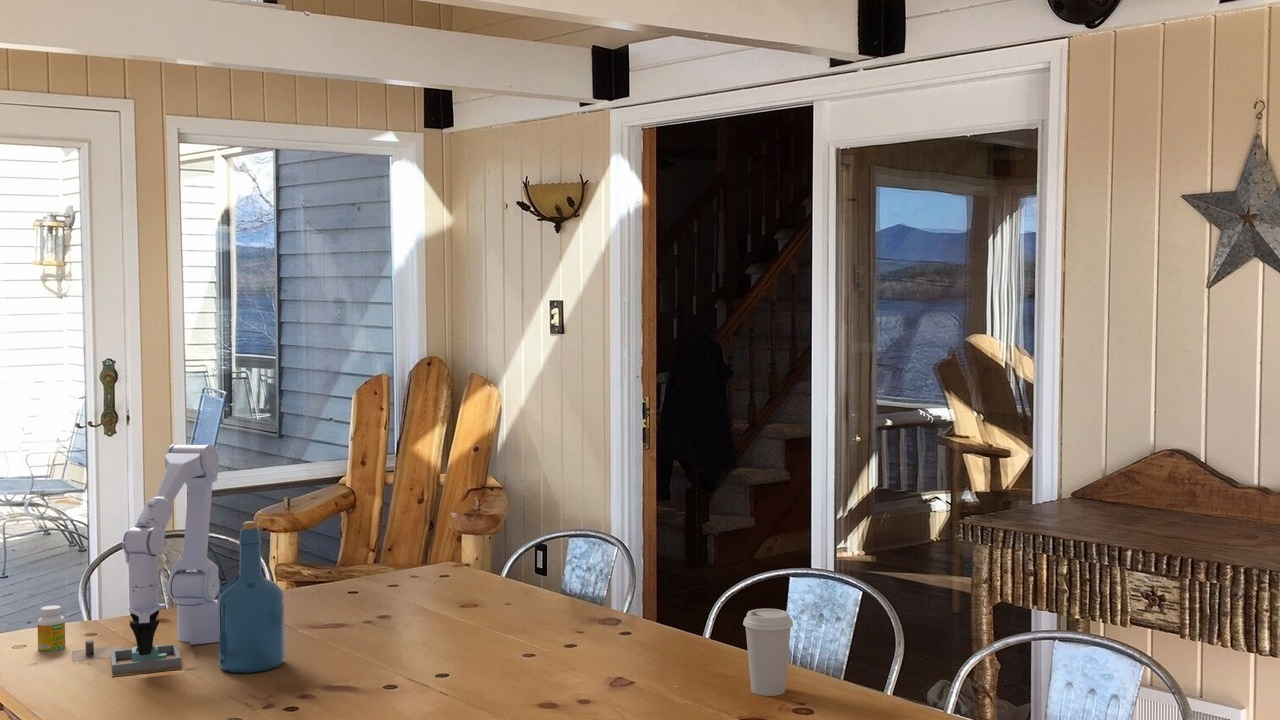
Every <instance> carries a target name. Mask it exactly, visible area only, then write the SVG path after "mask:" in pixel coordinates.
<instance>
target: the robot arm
mask: <svg viewBox="0 0 1280 720" xmlns="http://www.w3.org/2000/svg"><path fill="white" fill-rule="evenodd" d="M219 459H220V456H219V453H218V451H217V449H216V448H215V446H214V445H213V444H210V443H209V444H177V443H173V444H171V445H170V446H169V447H168V448H167V450H166V452H165V456H164V466H165V472H164V475H163V477H162V480H161V482H160V485H159V487H158V490H157V491H156V492H157V493H156V495H155V497H152V498H149V499H148V500H147V502H146V503H145V505H144V507H143V510H142V511H141V513H140V515H139V516H138V519H137V521H136V523H135V525H134V526H133V527H131V528H129V529H128V530H126V531H125V533H124V535H123V538H122V542H121V547H122V550H123V553H124V555H125V562H126V564H128V585H129V586H128V587H129V588H128V589H129V591H128V595H129V603H128V604H129V606H128V612H129V613H130V617H131V618H132V620H129V627H130V629H131V630H132V632H133V634H134V637H135V640H136V647H138V651H139V654H140V655H150V654H151V650H152V645H153V644H154V638H155V633H156V631H157V628H158V626H159V624H160V620H159V619H157V618H158V615H159V614H160V610H162V609H165V608H166V603H164V602H163V603H160V584H159V583H160V581H159V580H160V579H159V577H160V574H159V573H160V572H159V554H160V553H161V551H162V550H163V549H164V544H165V537H166V533H167V532H166V531H165V530H166V528H167V526H168V525H169V522H170V520H171V518H172V516H173V514H174V512H175V509H174V506H173V503H174V501H175V499H176V497H177V495H178V494H179V492H180V491H181V489H182V488H183V486H184V484H185V485H186V486H187V488H188V489H187V498H186V499H187V501H186V511H185V524H184V537H183V538H184V540H183V551H182V557H181V558H180V559H179V560H178V561H176V562H175V563H174V564H173V565H171V570H170V576H169V578H168V582H167V592H168V595H169V597H170V599H171V600H173V603H174V604H176V613H177V614H176V616H177V617H176V618H177V620H176V621H177V624H176V626H177V627H176V628H177V640H178V642H183V643H188V644H189V646H194V645H195V646H196V645H203V644H205V645H206V644H213V643H218V599H215V598H216V597H217V595H219V594H218V591H219V589H220V588H221V587H220V585H221V583H220V578H219V567H218V565H217V564H216V563H214V562H213V561H212V560H211V559H210V558H208V547H209V535H210V532H209V531H210V522H211V521H210V520H211V519H210V518H211V508H212V507H211V505H212V496H213V495H212V494H213V493H212V492H213V483H215V482H216V481H218V473H219V463H220V462H219V461H220V460H219ZM188 570H190V571H188ZM191 570H192V571H191ZM193 570H194V571H193ZM195 570H196V571H195Z"/></svg>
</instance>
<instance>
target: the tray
mask: <svg viewBox="0 0 1280 720" xmlns="http://www.w3.org/2000/svg"><path fill="white" fill-rule="evenodd" d="M163 653H166V655H171V654H173V657H166V658H165V659H156V660H147V661H138V662H132V661H130V662H122V663H117V660H123V659H132V648H126V649H123V650H115V651H111V657H110V664H111V665H110V666H111V674H112V675H114V674H125V673H130V672H131V673H132V674H125V675H115V676H111V678H122V677H130V676H139V675H148V674H155V673H163V672H164V673H165V672H173V671H181V670H182V668H179V667H182V657H181V653H180V650H179V647H178V644H177V643H172V644H164V645H158V654H163ZM177 667H178V668H177ZM168 668H177V669H168ZM157 669H166V670H159V671H150V672H142V671H149V670H157ZM167 669H168V670H167ZM140 671H141V672H140ZM134 672H138V673H134ZM139 672H140V673H139Z"/></svg>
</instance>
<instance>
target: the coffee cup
mask: <svg viewBox="0 0 1280 720" xmlns="http://www.w3.org/2000/svg"><path fill="white" fill-rule="evenodd" d="M792 619H793V618H791V617H790V613H789V612H788V611H786V610H782V609H778V608H756V609H751V610H748V611H747V613H746V617H744V619H743V623H742V625H743V626H744V627H745V635H746V644H747V645H746V646H747V654H748V655H747V656H748V658H747V659H748V667H749V669H748V671H749V679H750V690H751V693H753V694H755V695H758V696H764V697H774V696H775V697H776V696H781V695H783V694H785V693H786V687H787V686H786V683H787V673H788V664H789V663H788V661H789V660H788V659H789V649H790V648H789V647H790V638H791V628H792V627H793V626H794V623H793V620H792Z"/></svg>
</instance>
